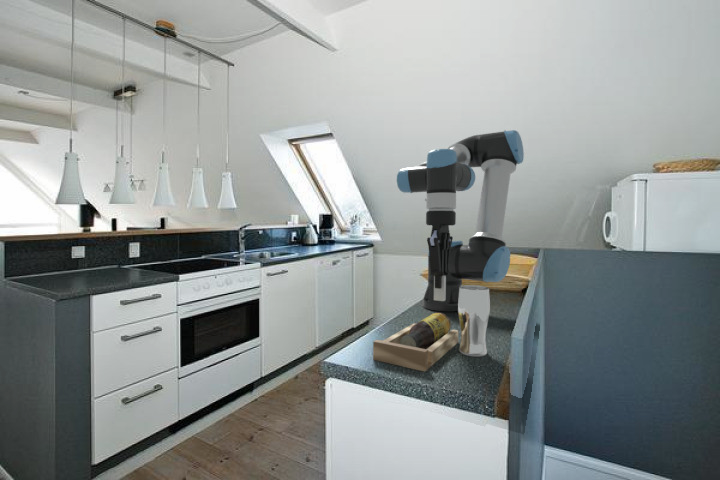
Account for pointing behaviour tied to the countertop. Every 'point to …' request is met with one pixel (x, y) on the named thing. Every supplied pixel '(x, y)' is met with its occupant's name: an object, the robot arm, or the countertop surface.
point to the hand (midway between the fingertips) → (439, 300)
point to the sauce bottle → (427, 331)
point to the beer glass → (473, 319)
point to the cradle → (412, 350)
